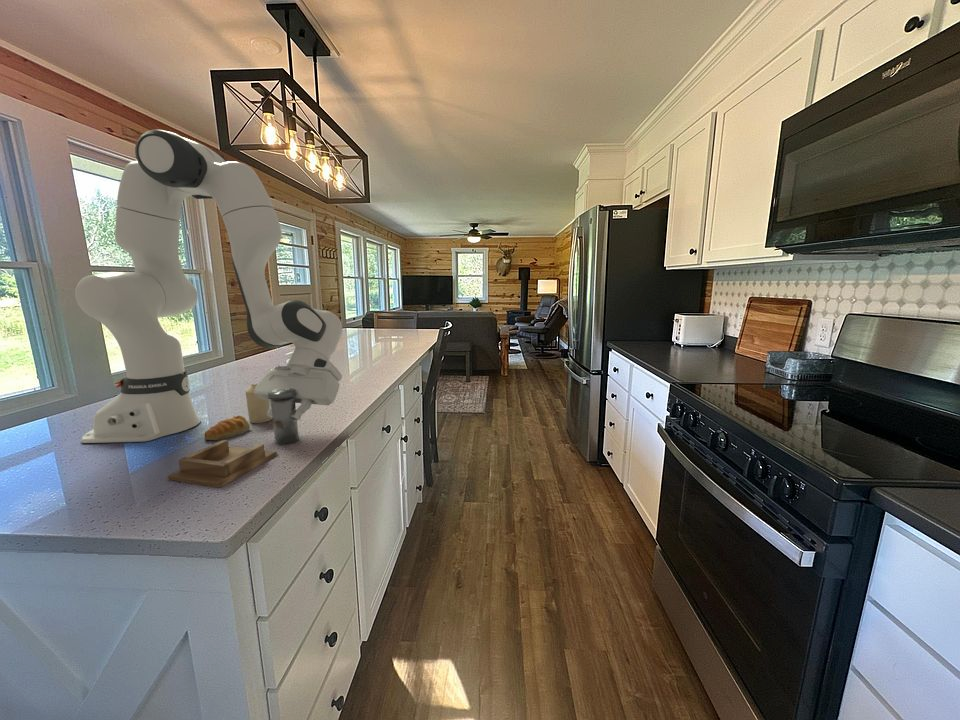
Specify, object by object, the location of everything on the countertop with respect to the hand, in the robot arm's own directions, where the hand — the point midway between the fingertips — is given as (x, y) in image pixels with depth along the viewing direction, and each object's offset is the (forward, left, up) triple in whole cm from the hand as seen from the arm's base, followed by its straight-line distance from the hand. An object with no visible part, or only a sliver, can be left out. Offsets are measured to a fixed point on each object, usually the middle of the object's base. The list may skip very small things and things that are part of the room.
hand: (282, 417), depth 88 cm
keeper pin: (0, +1, -6) cm, 6 cm away
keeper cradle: (-9, -10, -6) cm, 15 cm away
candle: (-10, +18, -6) cm, 21 cm away
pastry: (-15, +9, -6) cm, 18 cm away
